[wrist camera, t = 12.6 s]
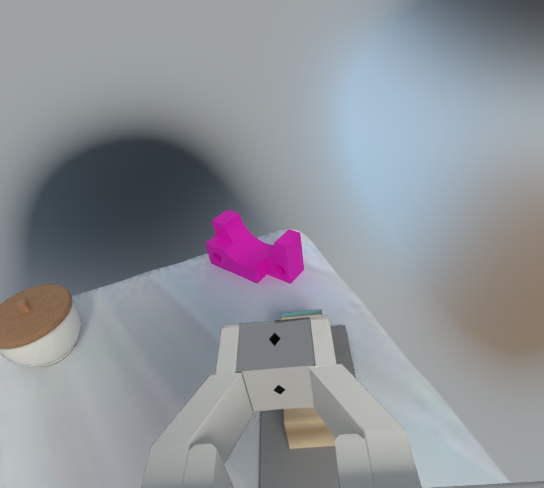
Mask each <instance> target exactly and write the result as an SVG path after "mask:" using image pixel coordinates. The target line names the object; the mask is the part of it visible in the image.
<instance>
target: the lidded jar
mask: <svg viewBox="0 0 544 488" xmlns="http://www.w3.org/2000/svg"><path fill="white" fill-rule="evenodd" d="M80 329H81V320H80V315H79V312H78V309H77V307H76V305H75V303H74V301H73V300H72V297H71V295H70V293H69V291H68V290H67V289H66V288H65V287H63V286H60V285H56V284H44V285H39V286H35V287H31V288H29V289H27V290H24V291H21V292H19V293H17V294H15V295H14V296H12V297H10V298H9V299H7V300H6V301H4V302H3V303H2V304H0V354H1V355H2V356H3V357H5V358H6V359H7V360H9V361H11V362H13V363H15V364H18V365H21V366H27V367H36V366H49V365H52V364H55V363H57V362H59V361H61V360H62V359H64V358H65V357H66V356H67V355H68V354H69V353H70V352H71V351H72V350H73V348H74V346H75V344H76V341H77V339H78V337H79V334H80Z"/></svg>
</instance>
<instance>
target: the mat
mask: <svg viewBox="0 0 544 488" xmlns="http://www.w3.org/2000/svg"><path fill="white" fill-rule="evenodd" d="M331 334H332V340H333V346H334V352H335V358H336V364H342V365H343V366H344V367H345V368H346V369H347V370H348V371H349V372H350V373H351V374H352V375H353V376H354V377H355V372H354V367H353V362H352V357H351V352H350V347H349V342H348V337H347V333H346V328H345V326H335V327H331ZM355 378H356V377H355ZM260 488H338V483H337V468H336V453H335V446H325V447H310V448H295V449H290V448H289V443H288V439H287V434H286V429H285V425H284V409H276V410H266V411H261V453H260Z"/></svg>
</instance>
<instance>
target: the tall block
mask: <svg viewBox="0 0 544 488" xmlns="http://www.w3.org/2000/svg"><path fill="white" fill-rule="evenodd" d="M315 316H322V309H321V310H310V311H299V312H288V313H281V320H284V319H294V318H303V317H315ZM284 425H285V429H286V434H287V439H288V443H289V448H290V449H295V448H310V447H325V446H335V440H336V439H335V437H334V436H333V435H332V433H331V432H330V430H329V429H328V428H327V426H326V425H325V423H324V422H323V420H322V419H321V418H320V416H319V415H318V413H317V412H316V411H315V409H314V407H310V408H289V409H284Z"/></svg>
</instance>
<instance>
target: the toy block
mask: <svg viewBox="0 0 544 488" xmlns="http://www.w3.org/2000/svg"><path fill="white" fill-rule="evenodd" d="M212 223H213V226H214V230H215V234H216V236H215V237H213V238H212V239H211V240H209V241H208V242H207V243H206V246H207V250H208V253H209V257H210V260H211V263H212V264H214V265H216V266H219V267H221V268H223V269H226V270H228V271H230V272H233V273H235V274H237V275H239V276H242V277H244V278H246V279H249V280H251V281H253V282H256V283H258V282H259V281H260V280H262V279H263V278H264V277H265V276H266V275H267V274H268V275H271V276H273V277H275V278H278V279H280V280H283V281H285V282H288V283H290V284H291V283H292V282H293V281H294V280H295V279H296V278H297V277H298V276H299V274H300V273H301V272H302V271H303V270H304V265H303V255H302V246H301V237H300V233H299V232H296V231H293V230H288V231H287V232H286V233H285V234H283V235H282V236H281V237H280V238H279V239H278V240H277V241H276V242H275V243H274V245H268V244H265V243H263V242H261V241H260V240H258V239H257V238H255V237H254V236H253V235H252V234H251V233H250V232H249V231H248V229H247V228H246V227H245V225H244V224H243V222H242V220H241V218H240V216H239V213H236V212H232V211H229V210H226V211H225V212H224V213H222V214H221V215H220V216H218V217H217V218H215V219H214V220H213V221H212Z"/></svg>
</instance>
